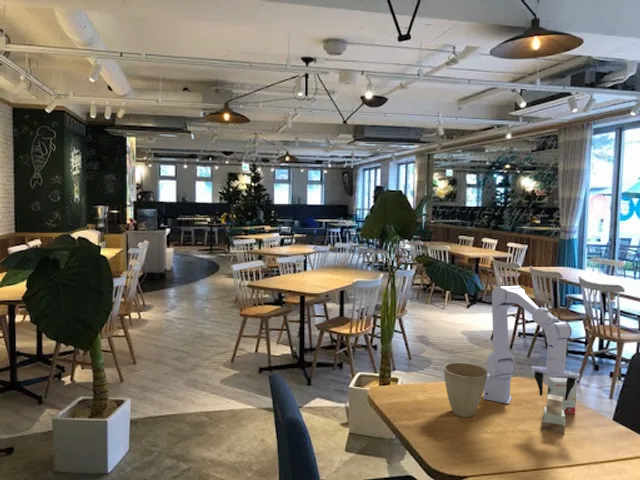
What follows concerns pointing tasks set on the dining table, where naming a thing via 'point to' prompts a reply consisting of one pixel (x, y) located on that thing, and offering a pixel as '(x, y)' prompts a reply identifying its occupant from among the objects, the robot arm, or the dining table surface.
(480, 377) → the plant pot
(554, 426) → the walnut base block
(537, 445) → the dining table surface
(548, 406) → the maple block
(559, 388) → the ink box
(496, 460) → the dining table surface
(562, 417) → the sage top block
